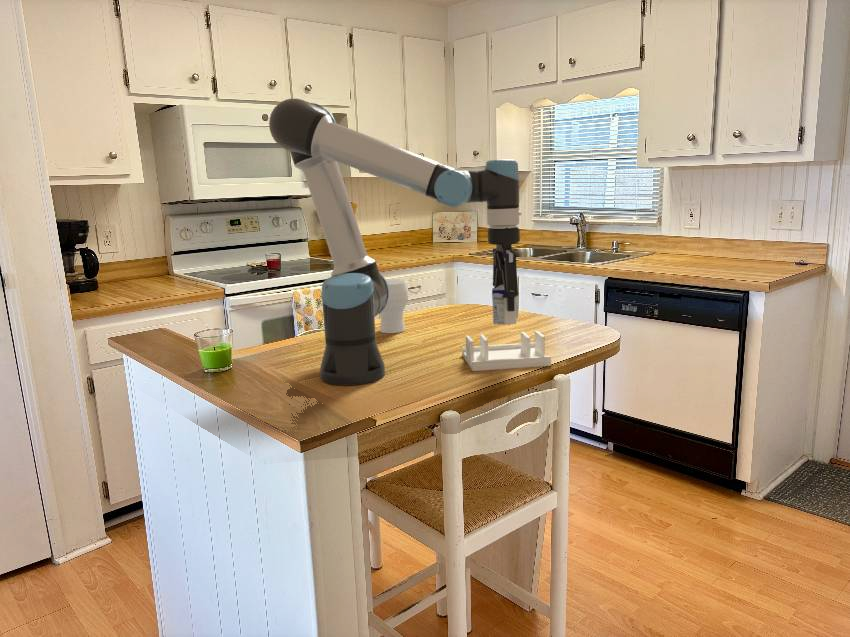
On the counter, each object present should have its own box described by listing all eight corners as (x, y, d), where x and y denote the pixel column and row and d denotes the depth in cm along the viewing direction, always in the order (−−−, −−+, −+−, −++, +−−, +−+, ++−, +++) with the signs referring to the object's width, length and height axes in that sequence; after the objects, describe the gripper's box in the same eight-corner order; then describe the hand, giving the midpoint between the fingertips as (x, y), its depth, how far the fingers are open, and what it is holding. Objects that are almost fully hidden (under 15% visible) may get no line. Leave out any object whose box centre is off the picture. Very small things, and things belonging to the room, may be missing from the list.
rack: (472, 371, 150) (471, 345, 148) (462, 355, 163) (461, 331, 162) (550, 365, 152) (551, 340, 150) (534, 350, 165) (534, 327, 164)
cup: (416, 328, 194) (414, 279, 191) (396, 336, 186) (394, 285, 182) (388, 325, 200) (386, 278, 197) (367, 332, 191) (364, 283, 188)
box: (500, 317, 160) (500, 283, 158) (518, 318, 158) (517, 284, 156) (492, 324, 153) (491, 289, 151) (510, 325, 151) (510, 289, 149)
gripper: (531, 229, 140) (532, 328, 145) (508, 222, 161) (510, 310, 166) (498, 230, 140) (500, 331, 145) (479, 224, 161) (481, 312, 165)
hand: (505, 319), depth 155 cm, fingers closed on box, 9 cm apart
